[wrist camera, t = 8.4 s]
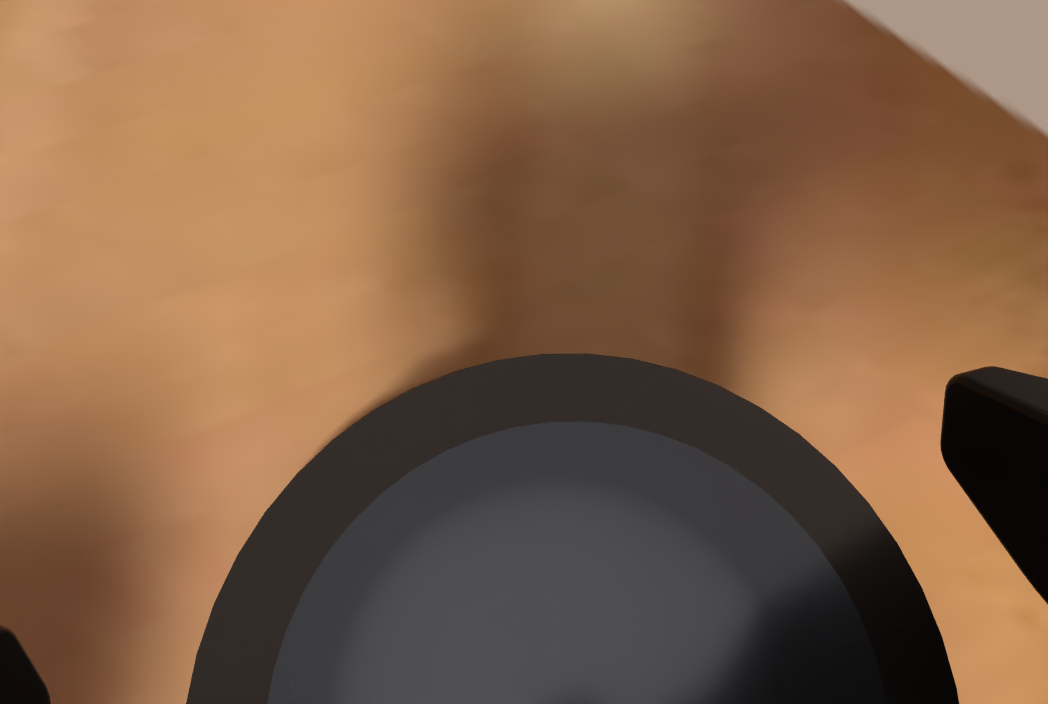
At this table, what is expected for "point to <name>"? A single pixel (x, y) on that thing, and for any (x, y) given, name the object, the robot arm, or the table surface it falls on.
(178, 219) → the table surface
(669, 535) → the lens
